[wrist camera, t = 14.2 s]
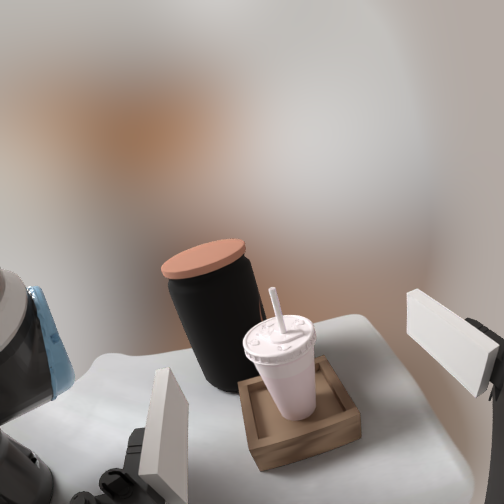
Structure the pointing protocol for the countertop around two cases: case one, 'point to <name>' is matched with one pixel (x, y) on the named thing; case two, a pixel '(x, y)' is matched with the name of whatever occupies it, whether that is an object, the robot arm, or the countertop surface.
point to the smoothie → (285, 360)
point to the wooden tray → (298, 421)
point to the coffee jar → (217, 307)
